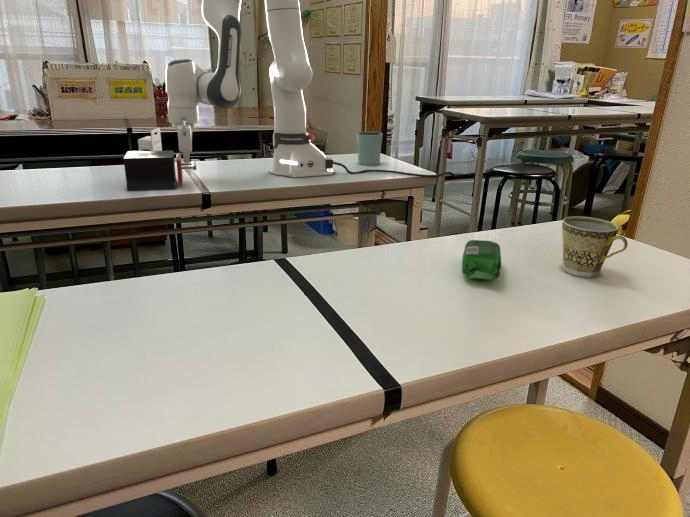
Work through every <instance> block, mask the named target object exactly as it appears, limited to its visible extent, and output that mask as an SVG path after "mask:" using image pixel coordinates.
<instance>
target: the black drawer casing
mask: <svg viewBox="0 0 690 517" xmlns="http://www.w3.org/2000/svg"><path fill="white" fill-rule="evenodd" d="M175 162H176V161H175V152H174V150H162V151H139V150H128V151H127V152H126V153H125V155H124V157H123V166H124V174H125V181H126V182H125V184H126V190H127V192H131V191H160V190H176V188H177V187H176V186H177V175H176V165H175ZM173 164H174V166H173ZM174 175H175V177H174Z"/></svg>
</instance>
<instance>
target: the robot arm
mask: <svg viewBox="0 0 690 517" xmlns="http://www.w3.org/2000/svg"><path fill="white" fill-rule="evenodd" d="M241 6H242V0H202V1H201V16H202V18H203V21H204V22H205V23H206V25H207V26H208V27H209V28H210V29H211V30H212V31H214V32H215V34H216V36H217V39H218V54H217V56H218V57H217V66H216V67H217V68H216V70H215V72H212V71H209V70H206V69H204V68H202V67H201V66H199V65H198V64H196V63H195V62H194V60H192V59H190V58H189V59H188V58H183V59H174V60H172V61H170V62H168V63H167V65H166V67H165V91H166V94H167V99H168V101H167V116H168V123H170V124H172V125H173V129H176V130H177V141H178V151H179V152H180V153H182V158H183V163H191V158H190V157H191V156H190V155H191V154H190V153H192V151H193V129H196V124H199V123H200V114H199V113H200V112H199V104H203V105H207V106H212V107H216V108H219V109H221V110H229V109H231V108H233V107H235V106H236V105H237V104H238V102H239V101H240V99H241V94H242V87H241V81H240V62H241V50H242V48H241V46H242V27H241V23H240V22H241V21H240V17H241V16H240V14H241ZM300 7H301V6H300V0H264V9H265V17H266V26H267V32H268V39H269V42H270V45H271V48H272V52H273V56H274V60H273V61H272V62H271V64H270V66H269V69H268V73H269V79H270V80H269V82H270V90H271V91H270V92H271V97H272V98H271V99H272V104H273V125H274V126H273V128H274V129H273V130H274V131H273V132H272V147H273V157H272V163H271V167H270V173H271V174H274V175H277V176H286V177H290V178H305V177H317V176H318V177H319V176H320V177H321V176H331V175H333V174H334V169H333V168H334V165H336V166H338V167H342V168H344V170H345V171H346V173H347V174H349V175H357V174H358V175H359V174H364V173H387V174H398V175H403V176H404V175H405V176H411V177H418V178H419V177H421V178H439V177H443V176H445V175H450V176H452V177H455V178H456V174H454V173H453V172H451V171H444V172H442V173H439V174H420V173H411V172H404V171H399V170H398V171H397V170H388V169H363V170H359V171H352V170H349V169H348V167H347V166H346V165H345V164H343V163H341V162H337V161H334V157H331V156H330V157H329V156H328V157H327V156H326V154H325V153H324V152H323V151H321V150H320V149H319V148H318V147H317V146H316V145H314V144H313V143H312V142H313V141H315V139H316V137H315V135H314V134H311V133H309V132H308V131H307V107H306V104H305V99H304V94H303V93H304V92H303V90H304V89H306V88H307V87H308V86H309V85H310V84H311V82H312V79H313V69H312V66H311V65H310V62H309V57H308V52H307V47H306V44H305V41H304V35H303V26H302V17H301V8H300Z"/></svg>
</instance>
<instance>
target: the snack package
mask: <svg viewBox="0 0 690 517" xmlns="http://www.w3.org/2000/svg"><path fill="white" fill-rule="evenodd" d="M501 268H502V255H501V246H500V244H499V243H497V242H495V241H492V240H481V239H470V240H468V241H466V243H465V246H464V250H463V254H462V263H461V272H462V274H463V276H464V277H465V278H467V279H478V280H486V281H489V280H494V279H498V278H499V277H500V276H501V272H500V271H501Z"/></svg>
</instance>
